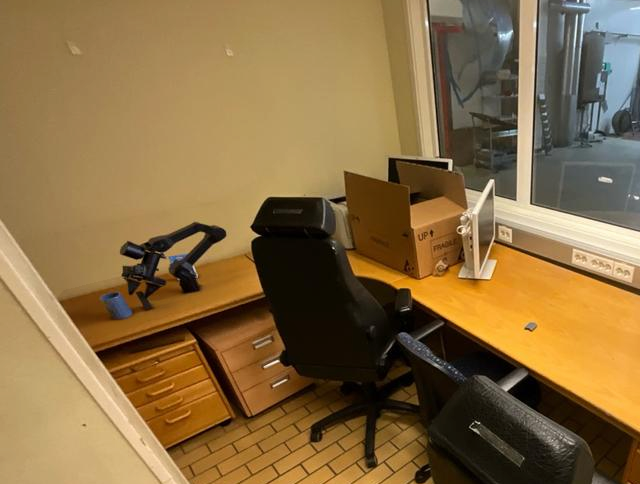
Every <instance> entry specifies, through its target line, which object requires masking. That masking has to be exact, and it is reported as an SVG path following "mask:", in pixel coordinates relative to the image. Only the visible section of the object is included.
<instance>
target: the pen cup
mask: <svg viewBox="0 0 640 484" xmlns="http://www.w3.org/2000/svg"><path fill="white" fill-rule="evenodd" d="M99 300H100V301H101V303H102V305H103V306H104V308H105V309H106V311H107V312H108V314H109V315H110V317H111V318H112V319H113V320H123V319H126V318H129V317H131V316H132V315H133V311H132V309H131V308H130V306H129V305H128V303H127V301H126V300H125V298H124V296H123V295H122V293H121V292H120V291H113V292H108V293H105V294H102V295H101V296H100V297H99Z"/></svg>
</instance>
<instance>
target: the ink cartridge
mask: <svg viewBox="0 0 640 484" xmlns="http://www.w3.org/2000/svg"><path fill="white" fill-rule="evenodd" d="M134 293H135V295H136V296H137V297H138V299H139V301H140V303H141V304H142V306H143V307H144V309H146V310H147V311H149V310H152V309H154V307H153V305H152V304H151V302H150V301H149V299H148V298H144V294H145V292H143V291H142V290H139V291H135V292H134Z"/></svg>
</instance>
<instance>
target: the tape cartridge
mask: <svg viewBox="0 0 640 484" xmlns="http://www.w3.org/2000/svg"><path fill="white" fill-rule="evenodd" d="M187 254H188V253H184V254H183V253H182V254H175V255H168V256H167V258H168V260H169V265H170V264H172V263H173V261H174V260H175V259H176V260H178V261H179V260H182V259H183V258H184V257H185V256H186V255H187ZM191 273H193V274H195V275H196V279H197V278H199V274H198V272H197V270H196V268H195V266H194V265H193V266H192V269H191ZM176 280H177V281H178V282H179V279H178V278H176Z"/></svg>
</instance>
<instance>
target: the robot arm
mask: <svg viewBox="0 0 640 484" xmlns="http://www.w3.org/2000/svg"><path fill="white" fill-rule="evenodd" d="M199 233H204V235H203V238H202V239H201V240H200V241H199V242H198V243H197V244H196V245H195V246H194V247H193V248H192V249H191V250H190V251H189V252H188V253H186V254H187V255H186V256H185V257H184V258H183V257H182V258H183V259H182V260H179V261H178V260H176V259H177V258H176V259H175V260H174V261H173V263H172V264H170V263H169V264H168V266H169V267H168V273H169V274H170V275H171V276H173V277H175V278H176V279H177V278H178V279H179V281H178V282H179V283H178V284H179V286H180V288H181V291H183V294H188V293H193V292H194V293H195V292H199V291H200V290H201V284H199V282H198V279H197V278H196V275H195V274H193V273H191V269H192V266H194V265H195V264H196V263H197V262H198V260H199V259H201V258H202V257H203V256H204V255H205V254H206V252H208V251H209V249H210V248H212V247H213V245H215V244H217V243H220V242H221V241H223V240H224V239H225V238H226V237H227V236H228V235H227V231H226V229H225V228H223V227H221V226H219V225H216V224H213V225H209V224H205V223H201V222H198V221H193V222H191V223H190V224H187V225H186V226H183V227H181V228H179V229H176V230H175V231H172V232H169V233H167V234H163V235H156V236H153V237H151V238H148V240H147V241H146V242H143V243H140V244H138V243H134V242H132V241H130V240H126V242H125V243H124V244H123V245H121V246H120V249H119V255H121V256H123V257H126V258H129V259H131V260H136V261H138V260H140V263H139V262H137V263H136V264H134V265H122V273H121V277H122V279H124V280H125V282H126V283H127V293H128V295H129V296H132V295H133V294H134V293H135V292H136V290H137V289H138V288H139V287H140V285H141V284H142V282H141V281H144V284H145V286H146V287H145V290H144V298H147V299H148V298H149V297H151V296H152V295H153V294H154V293H155V292H157V291H158V290H159V289H161V288H163V287H165V286H166V285H167V281H166V279H164V278H161V277H158V276H155V274H156V272H159V271H160V269H159V268H158V266H159V263H160V261H161V259H163V260H167V258H168V257H167V256H166V255H165V253H166V252H167V251H168V250H171V249H172V248H173V246H174V245H175V244H177V243H179V242H181V241H183V240H186V239H187V238H189V237H192V236H194V235H196V234H199Z"/></svg>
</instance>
